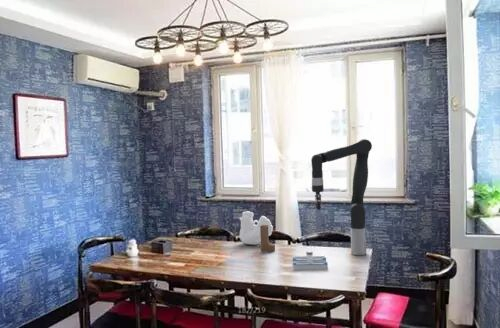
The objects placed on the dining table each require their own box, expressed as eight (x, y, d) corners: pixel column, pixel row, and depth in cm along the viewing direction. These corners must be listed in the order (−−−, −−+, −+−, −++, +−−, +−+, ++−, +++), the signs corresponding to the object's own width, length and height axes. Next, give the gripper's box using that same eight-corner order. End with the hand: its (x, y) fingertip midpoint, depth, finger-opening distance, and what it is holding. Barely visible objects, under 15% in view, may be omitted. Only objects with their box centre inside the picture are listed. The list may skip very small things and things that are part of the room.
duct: (324, 259, 262) (324, 253, 262) (327, 269, 242) (327, 262, 241) (292, 259, 264) (292, 253, 264) (293, 269, 243) (292, 262, 243)
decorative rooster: (236, 245, 306) (235, 212, 305) (245, 241, 321) (243, 209, 320) (268, 248, 297) (266, 213, 295) (275, 242, 311) (274, 210, 310)
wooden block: (275, 250, 288) (274, 225, 287) (273, 252, 284) (272, 226, 283) (263, 249, 292) (262, 224, 291) (260, 251, 288) (259, 225, 287)
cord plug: (312, 265, 250) (312, 250, 249) (313, 267, 246) (312, 252, 246) (306, 265, 250) (306, 251, 250) (306, 267, 246) (306, 252, 246)
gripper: (324, 185, 267) (325, 210, 268) (322, 183, 281) (323, 207, 282) (312, 185, 268) (313, 210, 268) (311, 183, 282) (312, 207, 283)
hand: (318, 208), depth 275 cm, fingers open, 8 cm apart
